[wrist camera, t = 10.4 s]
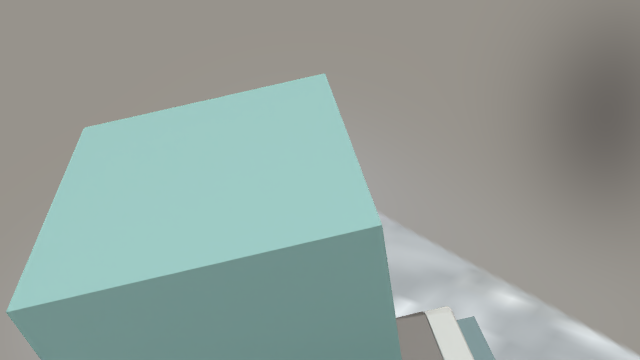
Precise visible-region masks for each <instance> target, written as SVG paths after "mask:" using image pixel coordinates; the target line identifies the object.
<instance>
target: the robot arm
mask: <svg viewBox="0 0 640 360" xmlns="http://www.w3.org/2000/svg"><path fill="white" fill-rule="evenodd" d="M396 324H397V331H398V337H399V344H400V351H401V358H402V360H474V358H473V355H472V353H471V351H470V349H469V347H468V345H467V342H466V340H465V338H464V336H463V334H462V331H461V329H460V327H459V325H458V323H457V320H456V318H455V316H454V314H453V312H452V310H451V309H450V308H449V307H448V306H446V307H441V308H437V309H433V310H429V311H424V312H418V313H414V314H410V315H406V316H402V317H398V318H396Z"/></svg>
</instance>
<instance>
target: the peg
mask: <svg viewBox="0 0 640 360" xmlns="http://www.w3.org/2000/svg"><path fill="white" fill-rule="evenodd" d="M6 313H7V314H8V316H9V317H10V318H11V320H12V321H13V322H14V324H15V325H16V326H17V328H18V329H19V330H20V332H21V333H22V335H23V336H24V337H25V339H26V340H27V341H28V343H29V344H30V345H31V347H32V348H33V349H34V351H35V352H36V354H37V355H38V356H39V358H40V359H41V360H402V358H401V351H400V344H399V337H398V331H397V324H396V317H395V310H394V303H393V297H392V290H391V283H390V276H389V269H388V262H387V256H386V249H385V242H384V235H383V228H382V224H381V221H380V218H379V216H378V213H377V210H376V208H375V205H374V202H373V200H372V197H371V195H370V192H369V189H368V187H367V184H366V182H365V179H364V177H363V173H362V171H361V168H360V166H359V163H358V160H357V157H356V155H355V152H354V149H353V147H352V144H351V141H350V139H349V136H348V134H347V131H346V128H345V126H344V123H343V120H342V118H341V115H340V112H339V110H338V107H337V104H336V102H335V99H334V96H333V94H332V91H331V88H330V86H329V83H328V80H327V78H326V75H325V74H320V75H316V76H312V77H307V78H302V79H298V80H294V81H289V82H285V83H281V84H276V85H272V86H267V87H263V88H258V89H254V90H250V91H245V92H241V93H236V94H232V95H227V96H223V97H219V98H214V99H210V100H205V101H201V102H197V103H192V104H188V105H184V106H179V107H174V108H170V109H166V110H161V111H157V112H152V113H148V114H144V115H139V116H135V117H130V118H126V119H121V120H117V121H113V122H108V123H104V124H100V125H95V126H91V127H86V128H84V129H83V132H82V134H81V136H80V139H79V141H78V143H77V146H76V148H75V151H74V153H73V155H72V158H71V160H70V162H69V165H68V167H67V170H66V172H65V174H64V176H63V179H62V182H61V184H60V186H59V188H58V191H57V193H56V195H55V198H54V200H53V202H52V205H51V207H50V210H49V212H48V214H47V217H46V219H45V222H44V224H43V226H42V229H41V231H40V233H39V236H38V238H37V241H36V243H35V245H34V247H33V250H32V252H31V255H30V257H29V259H28V262H27V264H26V266H25V269H24V271H23V274H22V276H21V278H20V281H19V283H18V285H17V288H16V290H15V292H14V295H13V297H12V299H11V302H10V304H9V307H8V309H7V311H6Z"/></svg>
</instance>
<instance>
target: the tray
mask: <svg viewBox="0 0 640 360" xmlns="http://www.w3.org/2000/svg"><path fill="white" fill-rule="evenodd" d="M457 323H458V325H459V327H460V329H461V331H462V334H463V336H464V338H465V340H466V342H467V345H468V347H469V349H470V351H471V353H472V355H473V358H474V360H495V358H494V356H493V354H492V352H491V350H490V348H489V346H488V344H487V342H486V340H485V338H484V336H483V334H482V332H481V330H480V328H479V326H478V324H477V322H476V320H475V317H474V316H473V317H469V318H465V319H461V320H457Z"/></svg>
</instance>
